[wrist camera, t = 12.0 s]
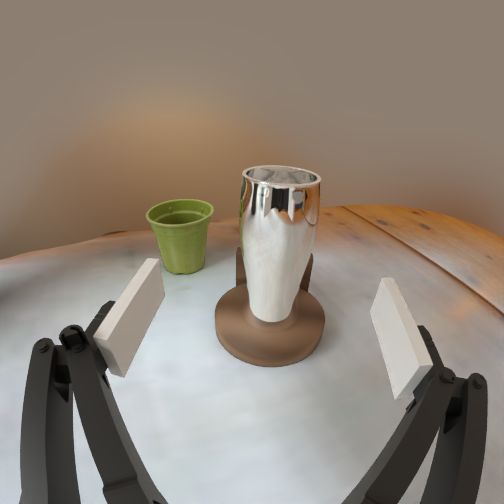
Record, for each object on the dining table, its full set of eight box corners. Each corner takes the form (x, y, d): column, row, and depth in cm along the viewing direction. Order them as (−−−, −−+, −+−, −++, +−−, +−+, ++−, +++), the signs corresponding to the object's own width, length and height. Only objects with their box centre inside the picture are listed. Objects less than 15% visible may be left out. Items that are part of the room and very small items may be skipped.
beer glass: (231, 329, 28) (229, 180, 20) (245, 289, 34) (249, 162, 26) (300, 340, 26) (325, 190, 19) (304, 297, 32) (322, 169, 25)
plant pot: (228, 263, 42) (228, 208, 38) (179, 291, 36) (172, 231, 32) (188, 243, 47) (185, 195, 43) (142, 265, 41) (134, 212, 37)
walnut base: (325, 369, 25) (340, 328, 22) (205, 360, 26) (199, 317, 23) (316, 293, 36) (324, 253, 34) (226, 285, 37) (225, 246, 34)
